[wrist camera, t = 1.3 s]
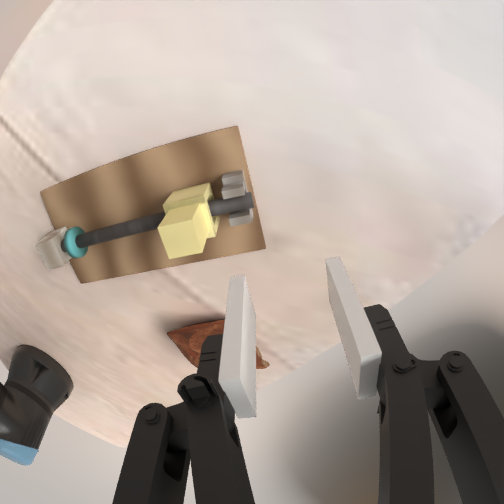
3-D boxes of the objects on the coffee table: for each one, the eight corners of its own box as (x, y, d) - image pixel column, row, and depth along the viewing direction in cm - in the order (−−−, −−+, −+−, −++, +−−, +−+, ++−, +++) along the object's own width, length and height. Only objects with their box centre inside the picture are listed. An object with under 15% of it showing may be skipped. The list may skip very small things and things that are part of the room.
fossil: (151, 334, 38) (182, 385, 31) (187, 285, 39) (227, 328, 31) (213, 359, 47) (248, 400, 39) (244, 318, 47) (285, 355, 40)
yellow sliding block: (184, 227, 33) (166, 266, 26) (173, 191, 31) (149, 222, 24) (219, 219, 33) (210, 257, 25) (209, 182, 31) (195, 211, 23)
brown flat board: (82, 281, 38) (66, 304, 34) (42, 190, 32) (18, 205, 27) (265, 246, 36) (267, 270, 31) (237, 125, 29) (234, 131, 24)
